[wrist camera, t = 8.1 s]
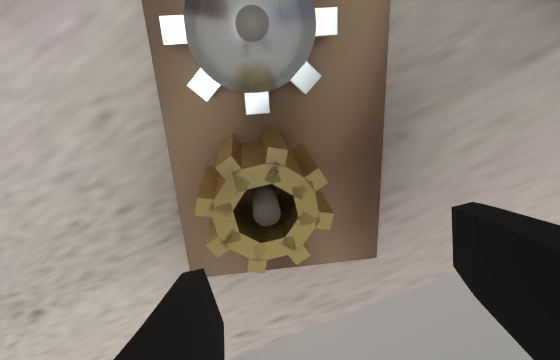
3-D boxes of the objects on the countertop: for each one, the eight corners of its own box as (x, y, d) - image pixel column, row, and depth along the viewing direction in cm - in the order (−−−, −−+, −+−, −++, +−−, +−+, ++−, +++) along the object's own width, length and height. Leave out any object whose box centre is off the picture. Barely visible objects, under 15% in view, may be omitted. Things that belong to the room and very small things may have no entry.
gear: (324, -65, 15) (337, -83, 13) (325, 100, 17) (337, 107, 15) (157, -59, 14) (143, -78, 12) (184, 111, 17) (176, 119, 14)
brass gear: (321, 214, 19) (341, 253, 16) (223, 238, 19) (219, 284, 15) (302, 116, 17) (319, 134, 14) (192, 142, 17) (178, 168, 13)
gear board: (384, -49, 16) (435, -84, 12) (370, 248, 22) (401, 296, 18) (140, -40, 15) (101, -74, 11) (193, 268, 21) (181, 323, 17)
